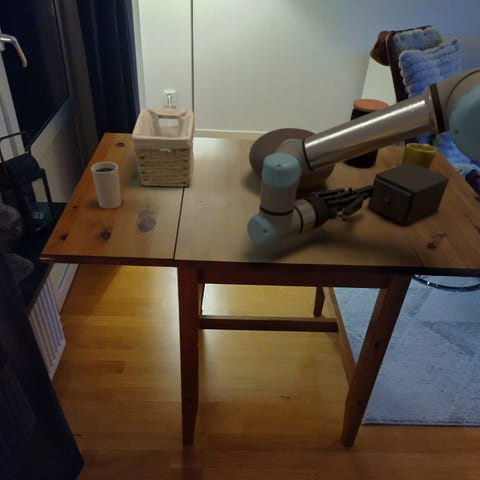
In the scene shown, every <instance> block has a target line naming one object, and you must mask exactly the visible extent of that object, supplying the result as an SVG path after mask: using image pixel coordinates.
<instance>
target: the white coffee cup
mask: <svg viewBox="0 0 480 480" xmlns="http://www.w3.org/2000/svg"><path fill="white" fill-rule="evenodd" d="M90 170H91V174H92V179H93V184H94V189H95V192H96V193H95V194H96V196H97V202H98V205H99V207H100V208H103V209H107V210H108V209H111V210H112V209H116V208H118V207H120V206H121V205H122V197H121V186H120V184H121V183H120V174H119V173H120V172H119V165H118V164H116V163H114V162H111V161H102V162H97V163H94V164H92V165H91V166H90Z"/></svg>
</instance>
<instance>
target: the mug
mask: <svg viewBox="0 0 480 480" xmlns="http://www.w3.org/2000/svg"><path fill="white" fill-rule="evenodd" d="M436 155H437V148H436V147H434V146H433V145H430V144H428V143H423V144H422V143H415V142H413V143H412V142H411V143H406V145H405V147H404V150H403V155H402V161H401V165H403V164H406V163H409V162H411V163H413V164H416V165H418V166H420V167H423V168H425V169H428V170H430V171H431V168H432V165H433V162H434V160H435V159H436Z"/></svg>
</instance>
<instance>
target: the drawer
mask: <svg viewBox="0 0 480 480" xmlns="http://www.w3.org/2000/svg"><path fill="white" fill-rule="evenodd" d="M372 186H374V187H375V188H374V192H373V196H372V197H370V198H368V203H367V207H368V206H369V207H371V208H372V209H371V208H370V209H371V210H373V209H374V210H373V211H375V210H376V211H375V212H377V211H378V212H377V213H379V212H380V213H379V214H381V213H382V214H381V215H383V214H384V215H383V216H385V215H386V216H388V217H390V218H392V219H394V220H396V221H398V222H400V223H403V222H404V221H405V218H406V214H407V211H408V208H409V205H410V201H411V198H412V193H410V192H408V191H405V190H403V189H401V188H399V187H397V186H395V185H392V184H390V183H388V182H386V181H384V180H380V179H378V178H376V179H375V178H374V179H373V183H372ZM369 207H368V208H369ZM386 216H385V217H386ZM388 217H387V218H388ZM390 218H389V219H390ZM392 219H391V220H392ZM394 220H393V221H394ZM396 221H395V222H396ZM398 222H397V223H398ZM400 223H399V224H400Z"/></svg>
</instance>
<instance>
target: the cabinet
mask: <svg viewBox="0 0 480 480" xmlns="http://www.w3.org/2000/svg"><path fill="white" fill-rule="evenodd" d="M376 178H378V179H380V180H384V181H386V182H388V183H390V184H392V185H395V186H397V187H399V188H401V189H403V190H405V191H408V192H410V193H412V198H411V201H410V205H409V208H408V211H407V214H406V218H405V221H404V222H403V223H400V222H398V221H396V220H394V219H392V218H390V217H388V216H386V215H384V214H382V213H380V212H378V211H376V210H374V209H372V208H371V207H369V206H368V205H367V208H369V209H370V210H373V211H375V212H377V213H378V214H381V215H383V216H384V217H386V218H388V219H390V220H392V221H394V222H396V223H397V224H399V225H401V226H404V227H406V226H409V225H411V224H413V223H415V222H418V221H420V220H422V219H425V218H426V217H428V216H430V215H433V214H435V213H437V212H438V211H439V209H440V205H441V203H442V200H443V198H444V194H445V192H446V189H447V186H448V183H449V180H450V178H449V177H447V176H445V175H442V174H439V173H437V172H435V171H432V170H431V169H430V170H428V169H425V168H423V167H420V166H418V165H416V164H413V163H411V162H409V163H406V164H403V165H402V164H401V165H398V166H395V167H392V168H389V169H387V170H384V171H381V172H378V173H376V174H375V177H374V179H376Z"/></svg>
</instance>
